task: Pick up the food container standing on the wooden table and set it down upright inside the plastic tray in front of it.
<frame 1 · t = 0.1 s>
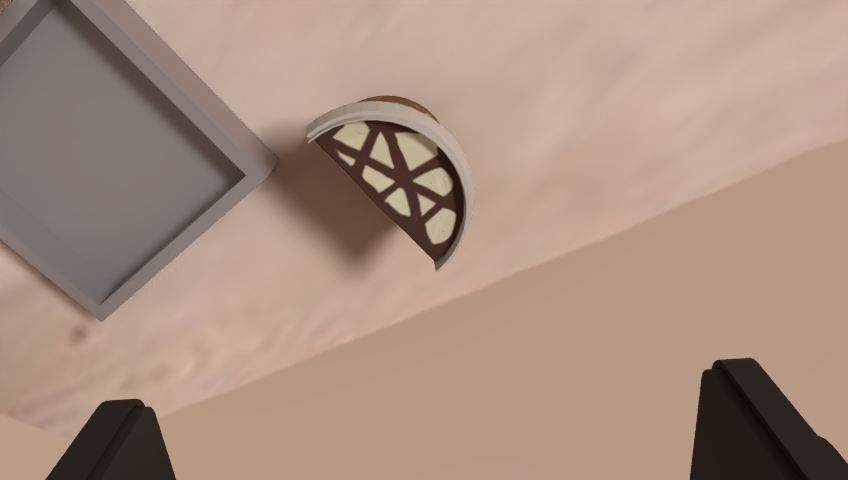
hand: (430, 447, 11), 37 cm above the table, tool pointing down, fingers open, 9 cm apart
food container: (415, 133, 47), on the table
tray: (105, 145, 47), on the table
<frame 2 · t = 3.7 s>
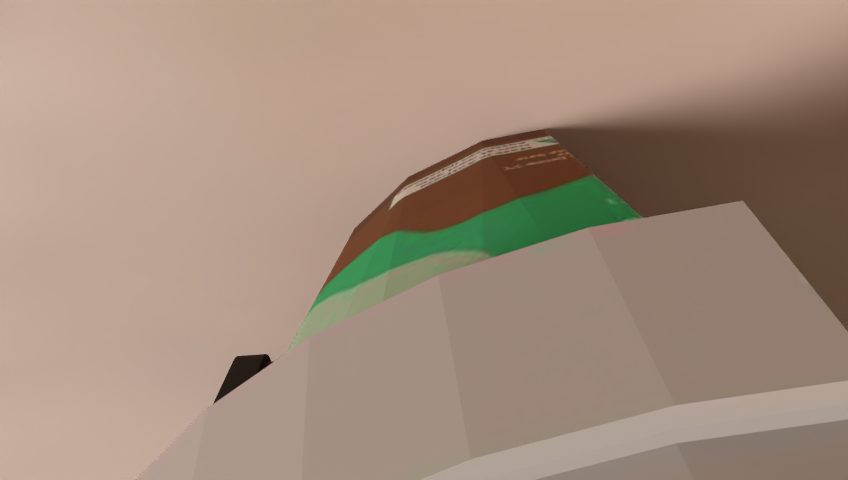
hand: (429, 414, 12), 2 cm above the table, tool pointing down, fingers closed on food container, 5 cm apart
food container: (408, 351, 14), on the table, touching gripper
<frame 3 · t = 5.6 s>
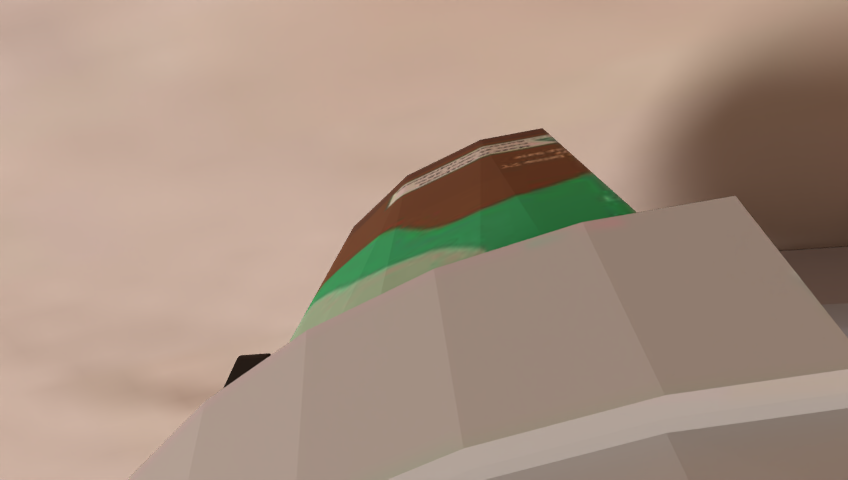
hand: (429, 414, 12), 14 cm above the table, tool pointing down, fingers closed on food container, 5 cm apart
food container: (407, 349, 14), point 11 cm above the table, touching gripper
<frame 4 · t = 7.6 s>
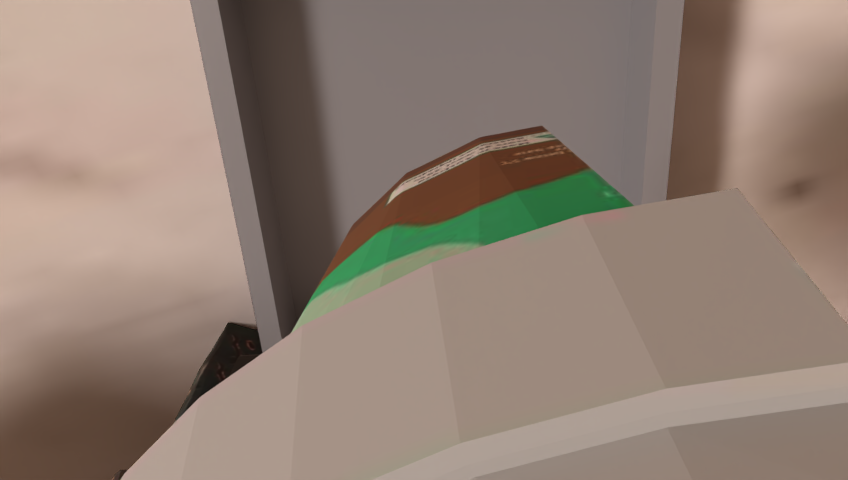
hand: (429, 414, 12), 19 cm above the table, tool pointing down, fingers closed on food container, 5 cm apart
teal animal figurine: (238, 444, 37), on the table
food container: (406, 348, 14), point 17 cm above the table, touching gripper
tray: (444, 148, 30), on the table
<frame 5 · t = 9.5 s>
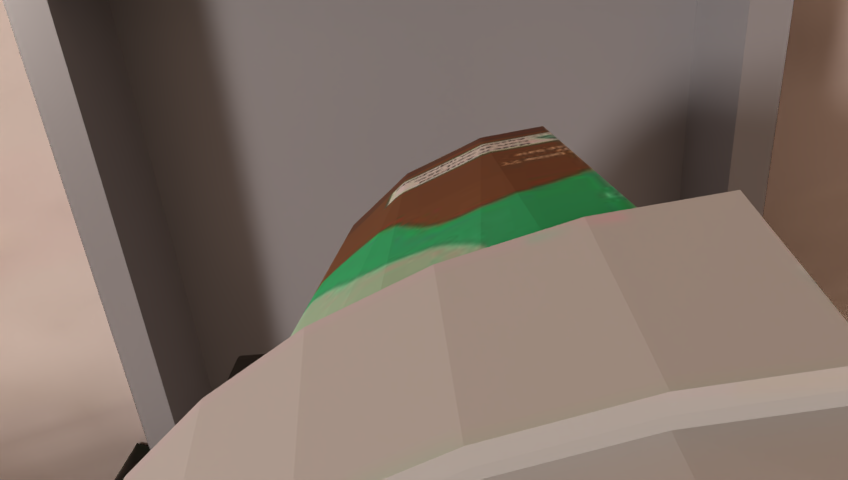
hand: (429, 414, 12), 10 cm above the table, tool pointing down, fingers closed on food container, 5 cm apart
food container: (407, 348, 14), point 8 cm above the table, touching gripper
tray: (423, 213, 21), on the table
when the fingers open (4 cm above the table, at t = 11.1 s): food container stays where it is, resting on tray.
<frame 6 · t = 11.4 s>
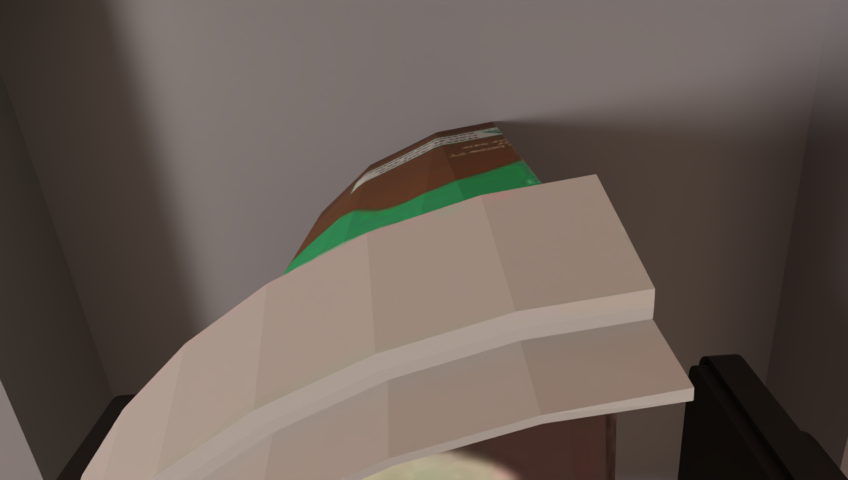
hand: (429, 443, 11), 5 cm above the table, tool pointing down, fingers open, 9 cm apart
food container: (373, 326, 15), point 1 cm above the table, touching gripper, tray
tray: (430, 296, 16), on the table
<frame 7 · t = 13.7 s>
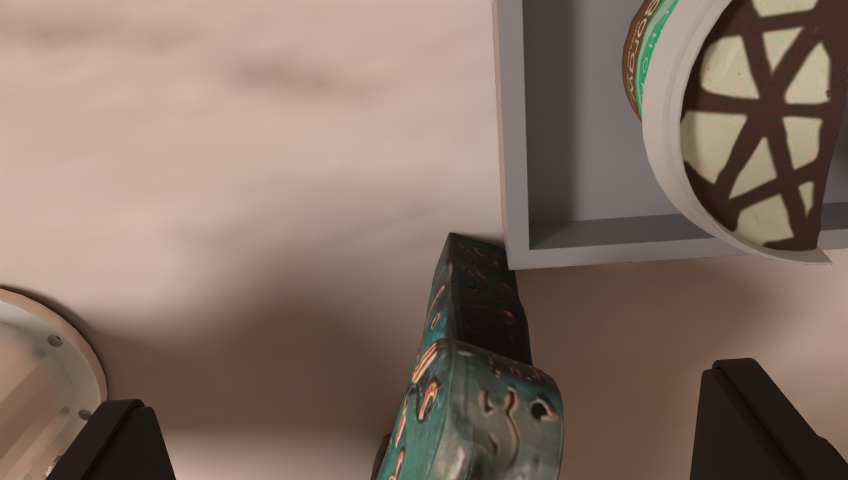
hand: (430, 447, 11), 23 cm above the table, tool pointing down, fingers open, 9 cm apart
teal animal figurine: (441, 358, 38), on the table
food container: (662, 58, 29), point 1 cm above the table, touching tray
tray: (687, 48, 30), on the table
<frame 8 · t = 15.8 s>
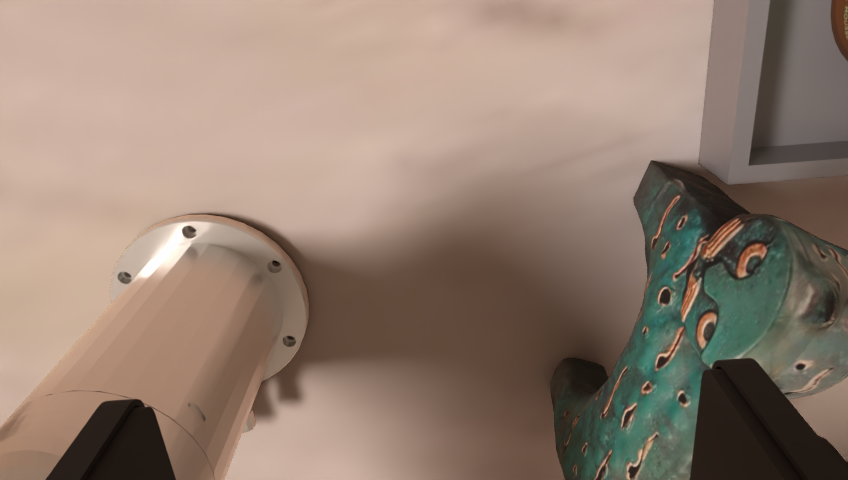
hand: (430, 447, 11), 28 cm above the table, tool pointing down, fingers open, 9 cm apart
teal animal figurine: (623, 283, 42), on the table
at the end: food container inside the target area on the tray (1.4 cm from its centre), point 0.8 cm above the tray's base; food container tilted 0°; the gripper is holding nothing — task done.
